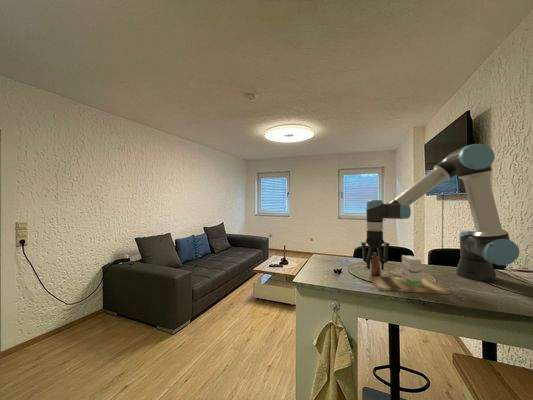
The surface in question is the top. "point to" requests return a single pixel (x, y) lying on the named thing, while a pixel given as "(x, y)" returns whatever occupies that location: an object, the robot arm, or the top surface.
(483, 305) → the top surface
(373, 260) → the brown bottle
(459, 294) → the top surface
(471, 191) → the robot arm
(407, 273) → the ink box
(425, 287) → the panel
